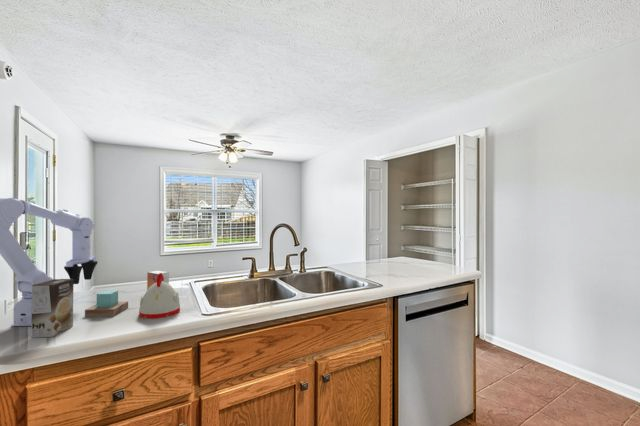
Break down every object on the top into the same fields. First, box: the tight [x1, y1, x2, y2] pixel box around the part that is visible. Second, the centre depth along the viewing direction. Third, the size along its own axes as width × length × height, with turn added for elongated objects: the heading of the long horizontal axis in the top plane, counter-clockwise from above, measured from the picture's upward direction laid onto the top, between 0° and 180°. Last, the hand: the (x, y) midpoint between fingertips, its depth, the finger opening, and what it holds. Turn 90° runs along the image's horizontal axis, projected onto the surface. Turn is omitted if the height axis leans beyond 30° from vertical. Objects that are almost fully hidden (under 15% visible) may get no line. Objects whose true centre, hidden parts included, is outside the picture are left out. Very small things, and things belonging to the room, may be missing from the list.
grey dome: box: [138, 273, 181, 320], centre depth 119 cm, size 14×14×15 cm
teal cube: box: [96, 290, 119, 307], centre depth 119 cm, size 5×5×5 cm
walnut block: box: [84, 300, 129, 318], centre depth 119 cm, size 10×10×3 cm
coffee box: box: [30, 278, 74, 338], centre depth 99 cm, size 9×6×16 cm
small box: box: [146, 270, 170, 291], centre depth 143 cm, size 8×6×10 cm
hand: (81, 281), depth 123 cm, fingers open, 7 cm apart
